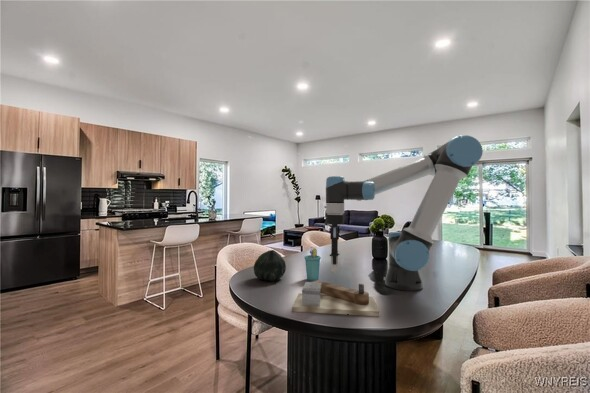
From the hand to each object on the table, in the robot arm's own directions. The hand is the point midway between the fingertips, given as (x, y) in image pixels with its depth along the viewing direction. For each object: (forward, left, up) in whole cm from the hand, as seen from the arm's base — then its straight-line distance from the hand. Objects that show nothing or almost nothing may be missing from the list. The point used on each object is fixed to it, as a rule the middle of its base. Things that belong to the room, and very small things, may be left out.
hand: (334, 271), depth 113 cm
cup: (+11, -16, -8) cm, 21 cm away
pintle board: (0, +16, -8) cm, 18 cm away
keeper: (+8, +16, -7) cm, 19 cm away
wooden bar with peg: (-2, +11, -6) cm, 12 cm away
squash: (+31, -14, -8) cm, 35 cm away
